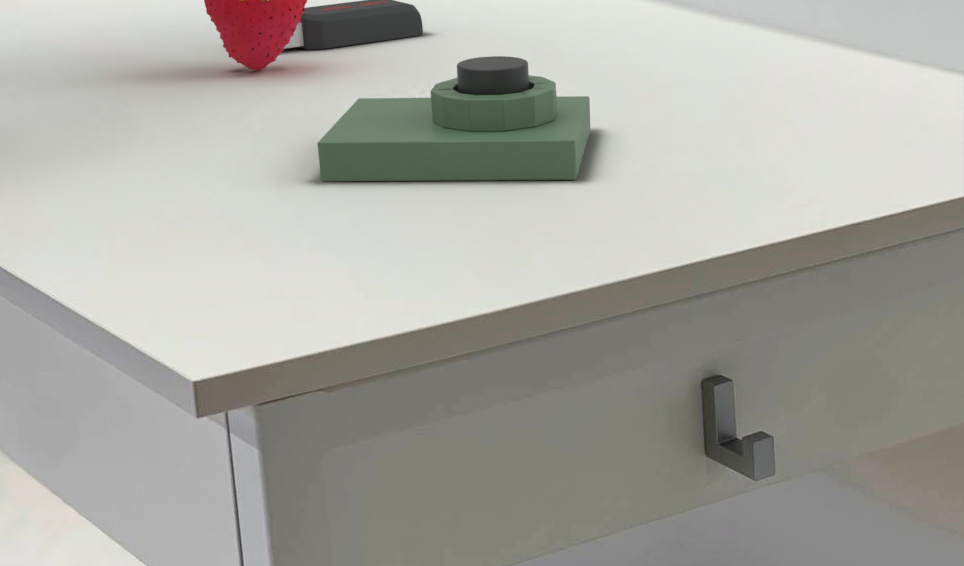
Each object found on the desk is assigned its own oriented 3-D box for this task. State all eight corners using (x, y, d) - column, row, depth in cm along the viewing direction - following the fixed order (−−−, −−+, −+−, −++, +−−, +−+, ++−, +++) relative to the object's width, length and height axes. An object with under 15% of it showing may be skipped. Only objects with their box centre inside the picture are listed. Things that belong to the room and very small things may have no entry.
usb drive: (423, 34, 129) (421, 0, 128) (286, 54, 123) (282, 17, 122) (391, 26, 133) (389, -8, 132) (256, 45, 127) (253, 9, 126)
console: (320, 181, 88) (314, 109, 87) (361, 133, 98) (355, 68, 97) (576, 180, 87) (574, 107, 86) (590, 132, 98) (588, 65, 96)
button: (453, 101, 90) (451, 70, 89) (463, 86, 93) (462, 56, 93) (525, 101, 90) (524, 69, 89) (532, 85, 93) (531, 55, 93)
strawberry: (325, 72, 116) (313, -71, 112) (222, 83, 113) (206, -64, 110) (304, 59, 121) (291, -79, 117) (204, 69, 118) (188, -72, 114)
